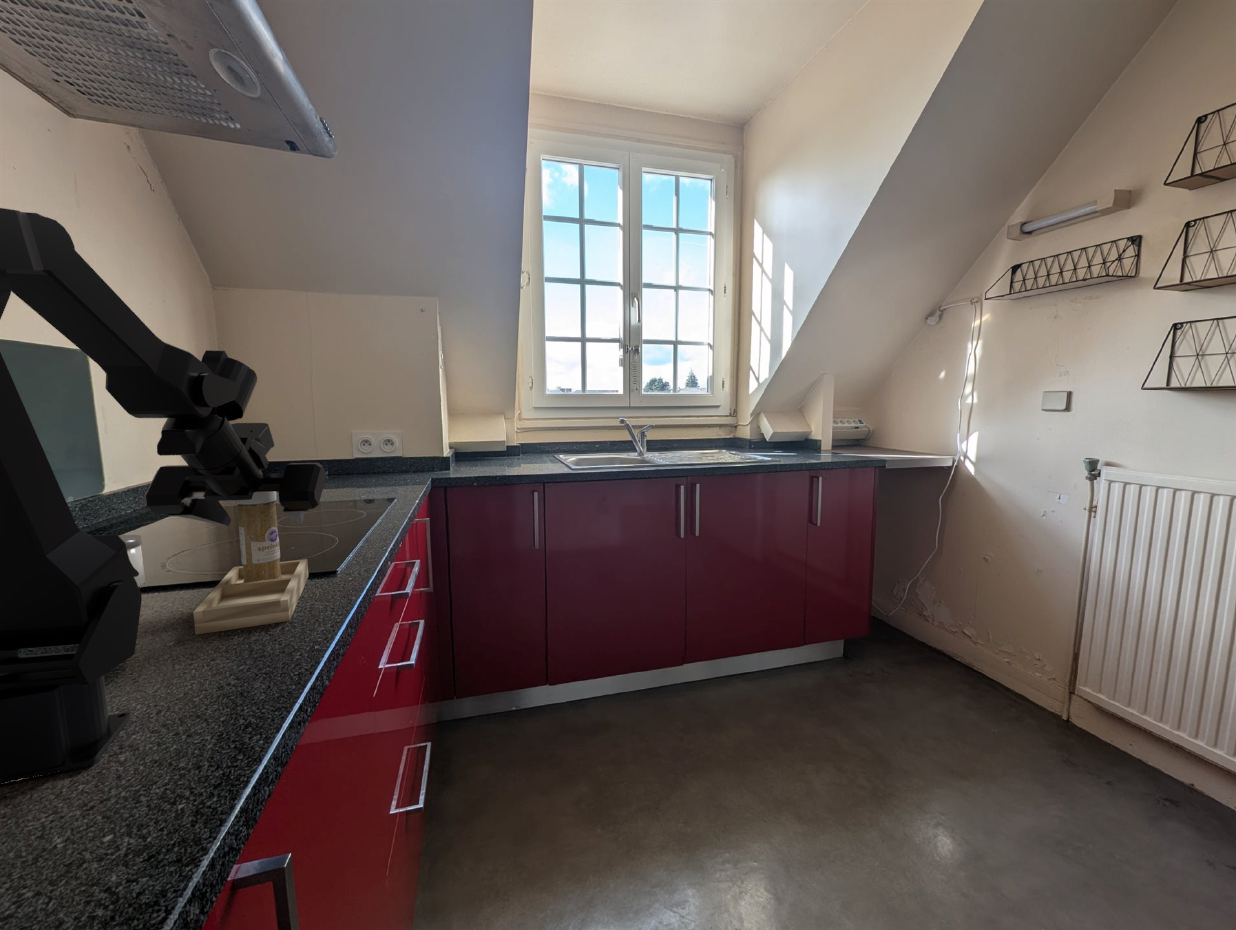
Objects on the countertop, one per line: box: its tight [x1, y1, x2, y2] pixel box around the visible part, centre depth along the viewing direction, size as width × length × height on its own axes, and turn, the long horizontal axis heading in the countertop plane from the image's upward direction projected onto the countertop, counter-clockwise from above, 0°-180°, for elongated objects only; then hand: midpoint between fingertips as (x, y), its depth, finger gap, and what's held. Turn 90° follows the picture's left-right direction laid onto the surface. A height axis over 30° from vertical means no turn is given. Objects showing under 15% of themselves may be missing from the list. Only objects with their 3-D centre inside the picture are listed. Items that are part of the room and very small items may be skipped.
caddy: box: [192, 558, 309, 635], centre depth 68 cm, size 17×9×3 cm, turn 25°
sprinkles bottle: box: [235, 491, 282, 583], centre depth 70 cm, size 5×5×13 cm
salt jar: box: [118, 534, 146, 587], centre depth 72 cm, size 6×6×7 cm
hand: (265, 521), depth 72 cm, fingers open, 9 cm apart
